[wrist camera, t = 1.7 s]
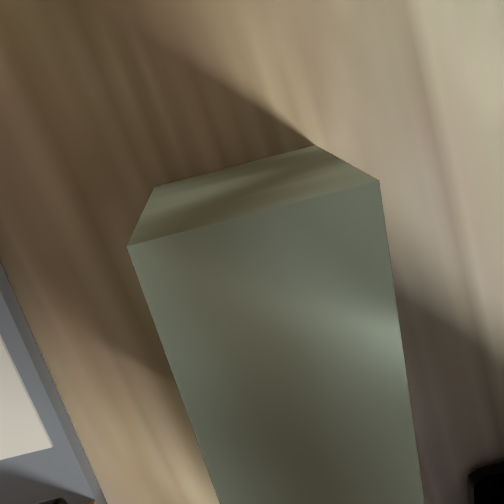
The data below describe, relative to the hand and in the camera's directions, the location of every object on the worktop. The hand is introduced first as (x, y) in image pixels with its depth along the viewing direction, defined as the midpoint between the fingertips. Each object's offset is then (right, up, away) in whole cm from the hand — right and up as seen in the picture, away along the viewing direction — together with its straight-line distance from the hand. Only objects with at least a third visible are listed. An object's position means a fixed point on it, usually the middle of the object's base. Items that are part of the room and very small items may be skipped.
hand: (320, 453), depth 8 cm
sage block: (-1, +2, +6) cm, 6 cm away
